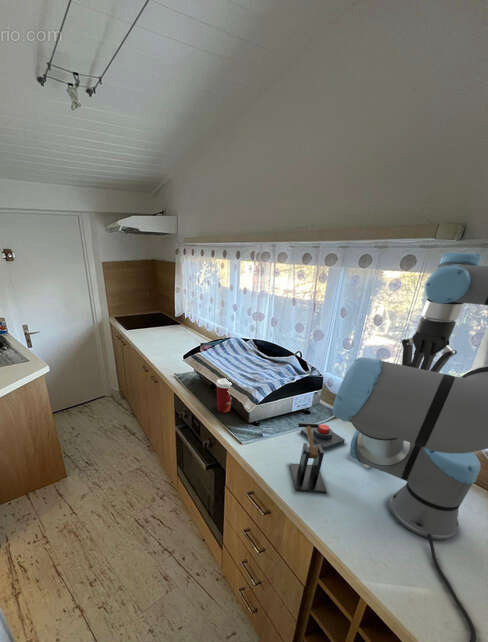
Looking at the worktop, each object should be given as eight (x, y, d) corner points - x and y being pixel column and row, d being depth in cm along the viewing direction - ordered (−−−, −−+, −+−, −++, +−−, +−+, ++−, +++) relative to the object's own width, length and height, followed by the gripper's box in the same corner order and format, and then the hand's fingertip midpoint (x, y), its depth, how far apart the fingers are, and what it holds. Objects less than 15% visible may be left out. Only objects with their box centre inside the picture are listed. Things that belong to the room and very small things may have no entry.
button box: (343, 444, 114) (346, 435, 112) (323, 451, 110) (325, 442, 108) (319, 428, 123) (321, 419, 122) (300, 434, 120) (301, 425, 118)
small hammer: (297, 425, 101) (299, 420, 99) (316, 426, 100) (318, 422, 98) (302, 457, 93) (303, 453, 91) (322, 459, 92) (324, 455, 91)
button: (330, 432, 114) (331, 428, 113) (323, 435, 113) (324, 430, 112) (323, 427, 117) (324, 423, 116) (316, 430, 116) (317, 425, 115)
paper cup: (233, 413, 134) (234, 385, 127) (215, 413, 134) (216, 385, 128) (231, 405, 141) (232, 377, 134) (214, 405, 141) (215, 377, 134)
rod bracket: (289, 466, 104) (294, 435, 98) (316, 468, 103) (324, 437, 97) (295, 492, 93) (302, 459, 87) (325, 494, 92) (335, 461, 86)
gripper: (476, 322, 75) (439, 405, 86) (420, 312, 85) (394, 387, 97) (459, 326, 72) (423, 412, 83) (404, 315, 82) (378, 392, 94)
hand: (407, 399), depth 90 cm, fingers closed
